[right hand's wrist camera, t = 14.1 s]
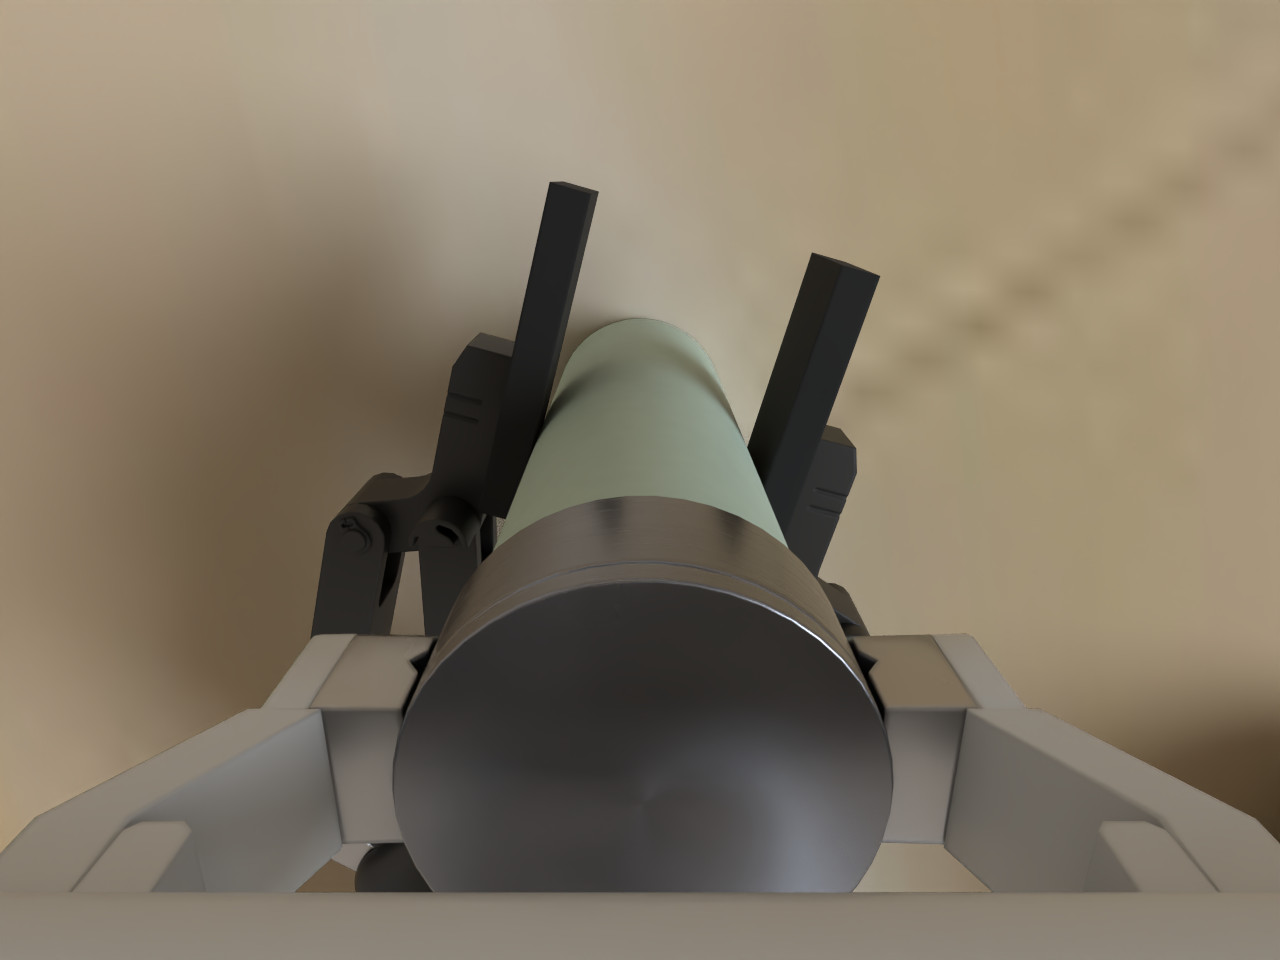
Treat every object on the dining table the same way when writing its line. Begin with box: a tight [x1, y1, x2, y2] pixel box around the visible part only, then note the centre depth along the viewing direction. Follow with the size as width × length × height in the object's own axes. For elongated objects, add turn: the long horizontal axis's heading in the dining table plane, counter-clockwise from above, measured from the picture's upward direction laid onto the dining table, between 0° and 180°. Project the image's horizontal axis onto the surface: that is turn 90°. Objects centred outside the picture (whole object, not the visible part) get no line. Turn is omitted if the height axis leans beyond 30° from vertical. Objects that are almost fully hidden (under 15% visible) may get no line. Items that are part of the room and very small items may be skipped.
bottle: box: [493, 319, 788, 551], centre depth 16 cm, size 5×5×16 cm
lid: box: [392, 496, 894, 892], centre depth 9 cm, size 5×5×2 cm
